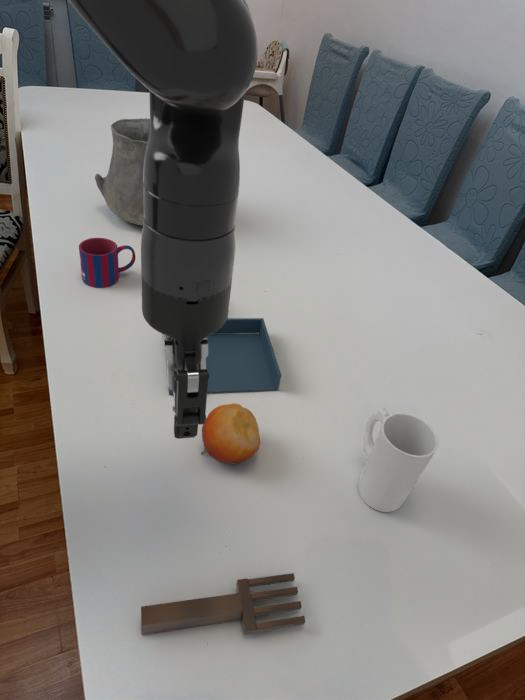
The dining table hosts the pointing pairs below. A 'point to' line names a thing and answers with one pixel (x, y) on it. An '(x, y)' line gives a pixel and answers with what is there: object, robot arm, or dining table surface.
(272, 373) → the dustpan
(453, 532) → the dining table surface
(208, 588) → the dining table surface
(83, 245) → the cup
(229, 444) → the fruit
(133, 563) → the dining table surface
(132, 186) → the vessel
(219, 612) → the fork
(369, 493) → the mug
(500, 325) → the dining table surface
